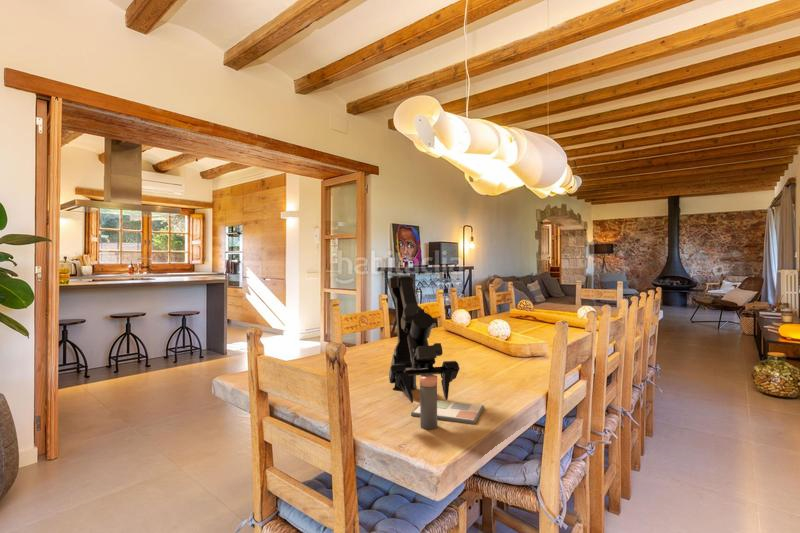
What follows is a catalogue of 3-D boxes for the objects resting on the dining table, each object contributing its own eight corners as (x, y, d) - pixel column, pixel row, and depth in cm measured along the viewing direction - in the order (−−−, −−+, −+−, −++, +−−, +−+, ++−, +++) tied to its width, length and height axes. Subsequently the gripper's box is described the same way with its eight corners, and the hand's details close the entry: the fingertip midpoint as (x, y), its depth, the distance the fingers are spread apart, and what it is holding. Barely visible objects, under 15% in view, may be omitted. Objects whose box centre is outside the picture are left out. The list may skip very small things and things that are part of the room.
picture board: (411, 415, 116) (411, 412, 116) (425, 401, 128) (425, 397, 128) (475, 424, 109) (475, 420, 109) (484, 407, 121) (484, 404, 121)
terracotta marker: (417, 428, 107) (417, 378, 107) (423, 422, 111) (422, 373, 111) (434, 430, 105) (434, 379, 105) (439, 424, 109) (439, 375, 109)
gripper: (389, 334, 111) (397, 387, 100) (456, 331, 114) (471, 382, 103) (386, 357, 118) (392, 409, 107) (448, 354, 122) (461, 403, 111)
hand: (429, 400), depth 107 cm, fingers open, 9 cm apart
